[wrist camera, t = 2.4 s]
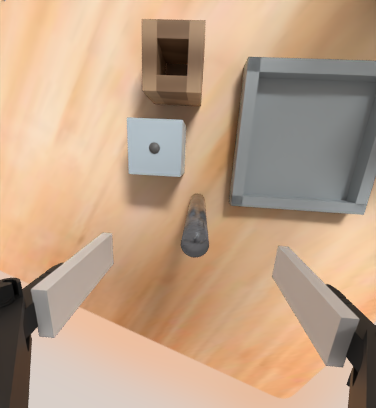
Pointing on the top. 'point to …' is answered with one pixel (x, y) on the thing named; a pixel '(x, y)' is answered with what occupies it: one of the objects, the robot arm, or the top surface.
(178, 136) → the block
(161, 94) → the bored block
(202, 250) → the rod
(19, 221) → the top surface
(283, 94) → the tray
